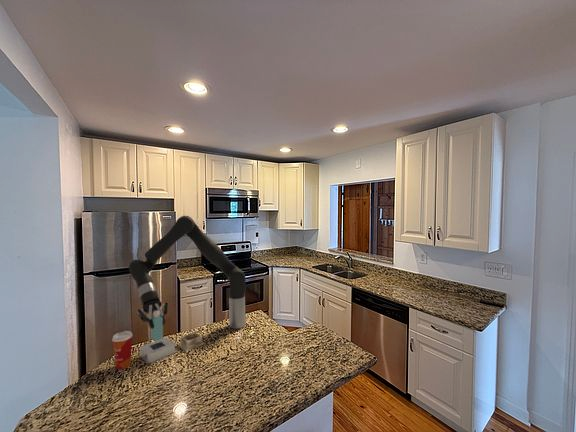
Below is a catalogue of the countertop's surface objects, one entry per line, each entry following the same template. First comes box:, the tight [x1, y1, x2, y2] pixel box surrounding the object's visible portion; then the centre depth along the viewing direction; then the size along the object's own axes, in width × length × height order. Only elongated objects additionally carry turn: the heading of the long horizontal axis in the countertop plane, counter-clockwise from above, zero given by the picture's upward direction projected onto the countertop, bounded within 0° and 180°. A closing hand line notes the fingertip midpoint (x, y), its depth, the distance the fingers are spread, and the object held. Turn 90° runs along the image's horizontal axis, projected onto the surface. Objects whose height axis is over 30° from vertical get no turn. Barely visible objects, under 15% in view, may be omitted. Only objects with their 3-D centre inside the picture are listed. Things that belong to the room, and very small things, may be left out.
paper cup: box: [111, 330, 134, 370], centre depth 113 cm, size 8×8×14 cm
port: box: [139, 337, 176, 367], centre depth 121 cm, size 12×10×5 cm
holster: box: [177, 331, 206, 352], centre depth 129 cm, size 10×10×4 cm
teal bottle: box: [150, 310, 164, 342], centre depth 120 cm, size 4×4×13 cm
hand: (158, 326), depth 119 cm, fingers closed on teal bottle, 4 cm apart
